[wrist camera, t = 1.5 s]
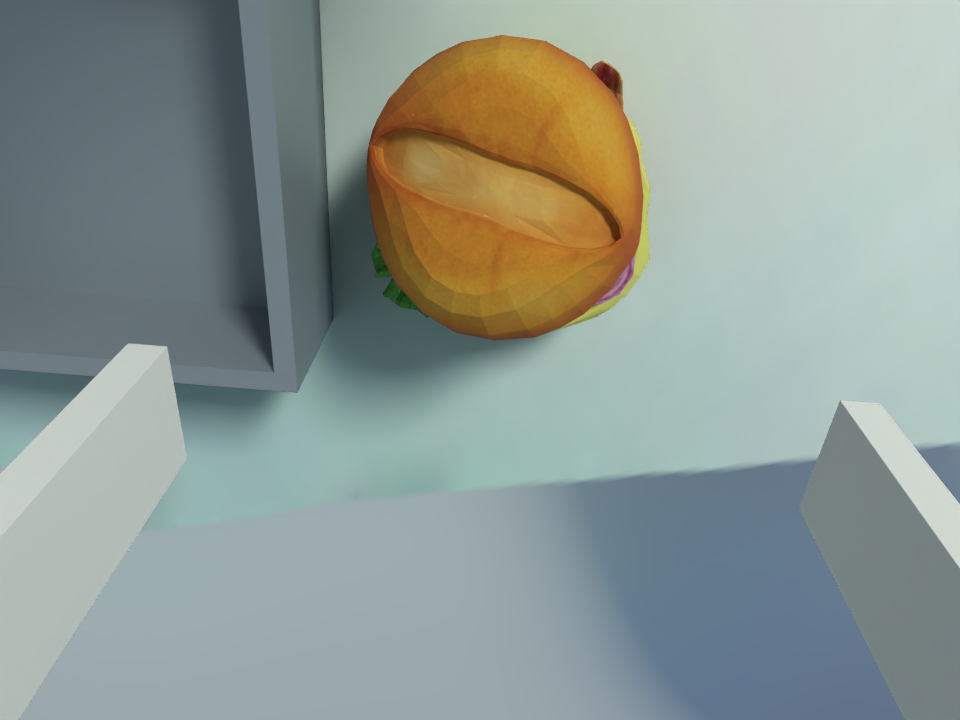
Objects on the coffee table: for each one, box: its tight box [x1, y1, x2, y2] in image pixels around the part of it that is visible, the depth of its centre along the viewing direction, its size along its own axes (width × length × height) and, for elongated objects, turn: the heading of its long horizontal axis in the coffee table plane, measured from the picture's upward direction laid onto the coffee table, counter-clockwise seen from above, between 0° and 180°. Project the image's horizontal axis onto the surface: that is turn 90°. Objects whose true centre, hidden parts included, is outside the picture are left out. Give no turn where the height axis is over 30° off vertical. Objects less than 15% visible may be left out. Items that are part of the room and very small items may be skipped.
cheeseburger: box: [367, 35, 650, 340], centre depth 25 cm, size 10×11×10 cm
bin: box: [0, 0, 333, 393], centre depth 25 cm, size 18×18×6 cm
